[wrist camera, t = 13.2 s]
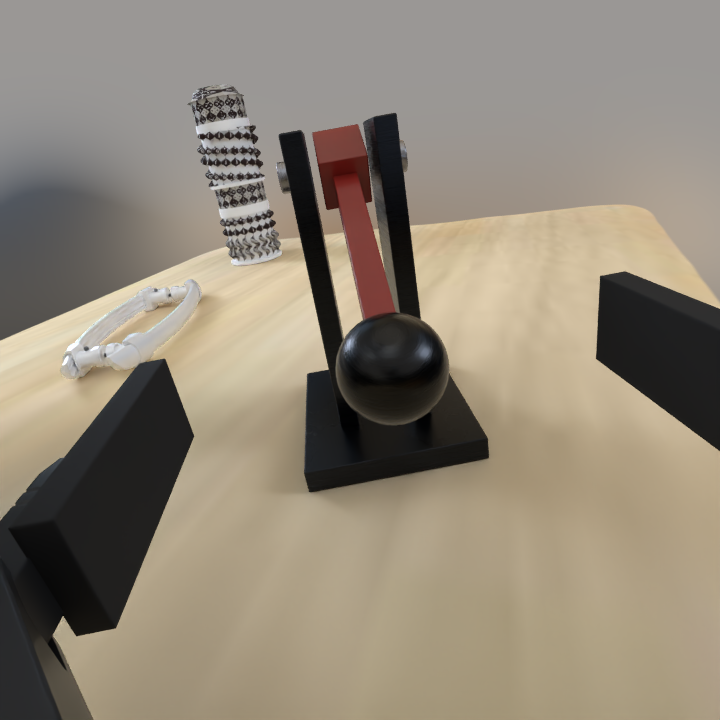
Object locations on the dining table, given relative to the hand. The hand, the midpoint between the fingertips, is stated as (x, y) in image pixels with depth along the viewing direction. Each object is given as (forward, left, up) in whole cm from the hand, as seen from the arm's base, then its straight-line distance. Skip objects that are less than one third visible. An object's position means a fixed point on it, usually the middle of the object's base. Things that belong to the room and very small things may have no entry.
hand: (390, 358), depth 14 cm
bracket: (-10, +6, -9) cm, 14 cm away
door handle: (-44, 0, -9) cm, 45 cm away
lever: (-6, +3, +1) cm, 7 cm away
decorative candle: (-65, +23, -9) cm, 69 cm away
